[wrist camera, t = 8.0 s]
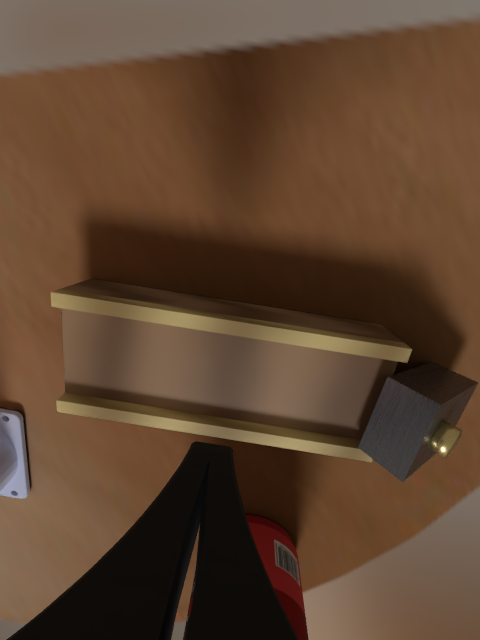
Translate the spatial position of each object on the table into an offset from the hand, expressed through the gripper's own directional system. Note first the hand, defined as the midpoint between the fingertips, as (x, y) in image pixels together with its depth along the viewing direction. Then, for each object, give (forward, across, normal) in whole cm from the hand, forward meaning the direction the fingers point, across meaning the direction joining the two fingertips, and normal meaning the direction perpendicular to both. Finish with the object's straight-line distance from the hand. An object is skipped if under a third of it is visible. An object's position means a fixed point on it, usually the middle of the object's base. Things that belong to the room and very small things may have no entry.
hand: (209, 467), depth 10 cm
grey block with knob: (+7, -10, 0) cm, 13 cm away
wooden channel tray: (+9, 0, 0) cm, 9 cm away
